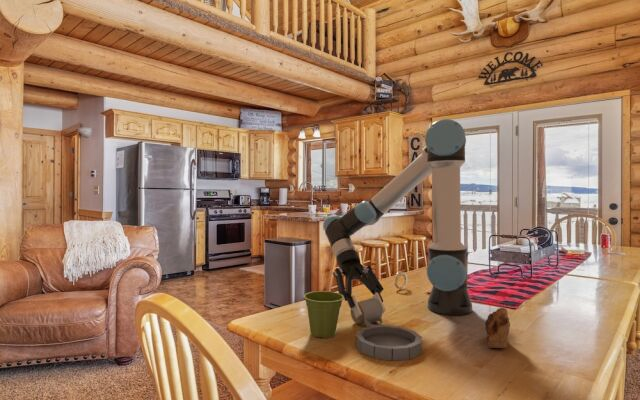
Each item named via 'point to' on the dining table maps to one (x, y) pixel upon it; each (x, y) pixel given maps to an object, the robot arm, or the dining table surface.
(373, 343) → the round tray
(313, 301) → the plant pot
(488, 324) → the decorative rock
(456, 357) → the dining table surface
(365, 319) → the ceramic mug
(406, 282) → the ring
